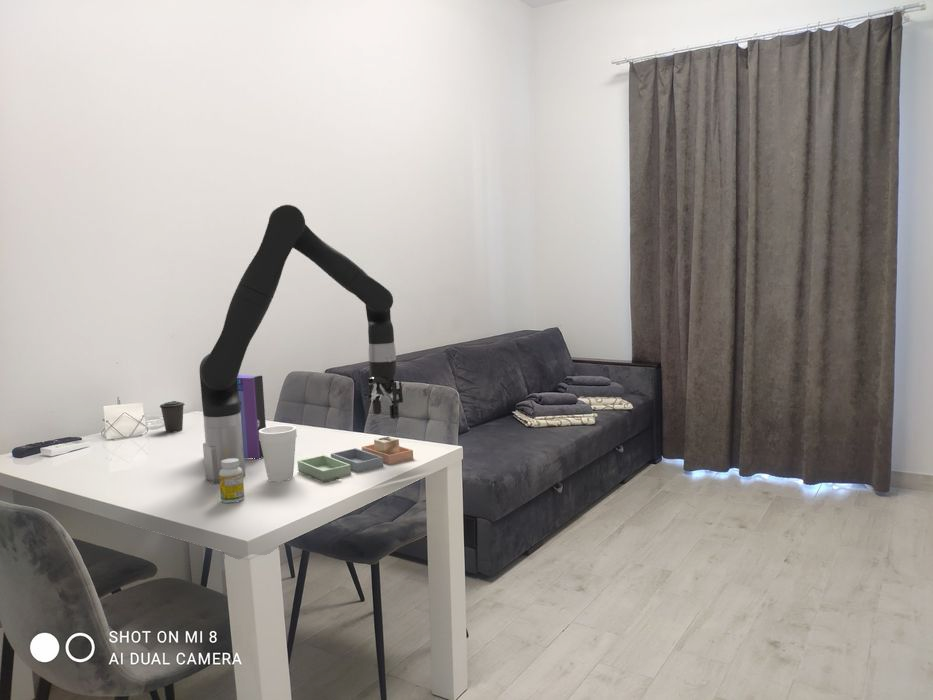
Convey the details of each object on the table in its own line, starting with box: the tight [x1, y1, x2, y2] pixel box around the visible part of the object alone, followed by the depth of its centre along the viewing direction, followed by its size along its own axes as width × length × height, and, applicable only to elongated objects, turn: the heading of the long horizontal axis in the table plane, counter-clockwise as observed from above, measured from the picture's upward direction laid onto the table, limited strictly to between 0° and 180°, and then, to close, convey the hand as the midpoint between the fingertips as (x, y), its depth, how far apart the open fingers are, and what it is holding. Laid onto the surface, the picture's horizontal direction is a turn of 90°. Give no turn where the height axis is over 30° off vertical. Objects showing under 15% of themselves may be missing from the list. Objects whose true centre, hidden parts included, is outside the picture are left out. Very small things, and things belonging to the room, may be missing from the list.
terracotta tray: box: [361, 443, 414, 465], centre depth 198 cm, size 8×14×3 cm, turn 40°
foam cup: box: [259, 424, 298, 482], centre depth 182 cm, size 10×9×13 cm
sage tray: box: [297, 454, 352, 483], centre depth 186 cm, size 8×14×3 cm, turn 40°
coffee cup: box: [159, 400, 186, 433], centre depth 244 cm, size 8×8×10 cm
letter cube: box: [373, 436, 400, 455], centre depth 198 cm, size 5×5×5 cm
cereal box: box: [237, 374, 267, 460], centre depth 206 cm, size 17×5×24 cm, turn 73°
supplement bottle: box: [219, 458, 245, 504], centre depth 166 cm, size 5×5×10 cm
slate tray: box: [330, 448, 384, 473], centre depth 192 cm, size 8×14×3 cm, turn 40°
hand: (385, 416), depth 197 cm, fingers open, 8 cm apart
